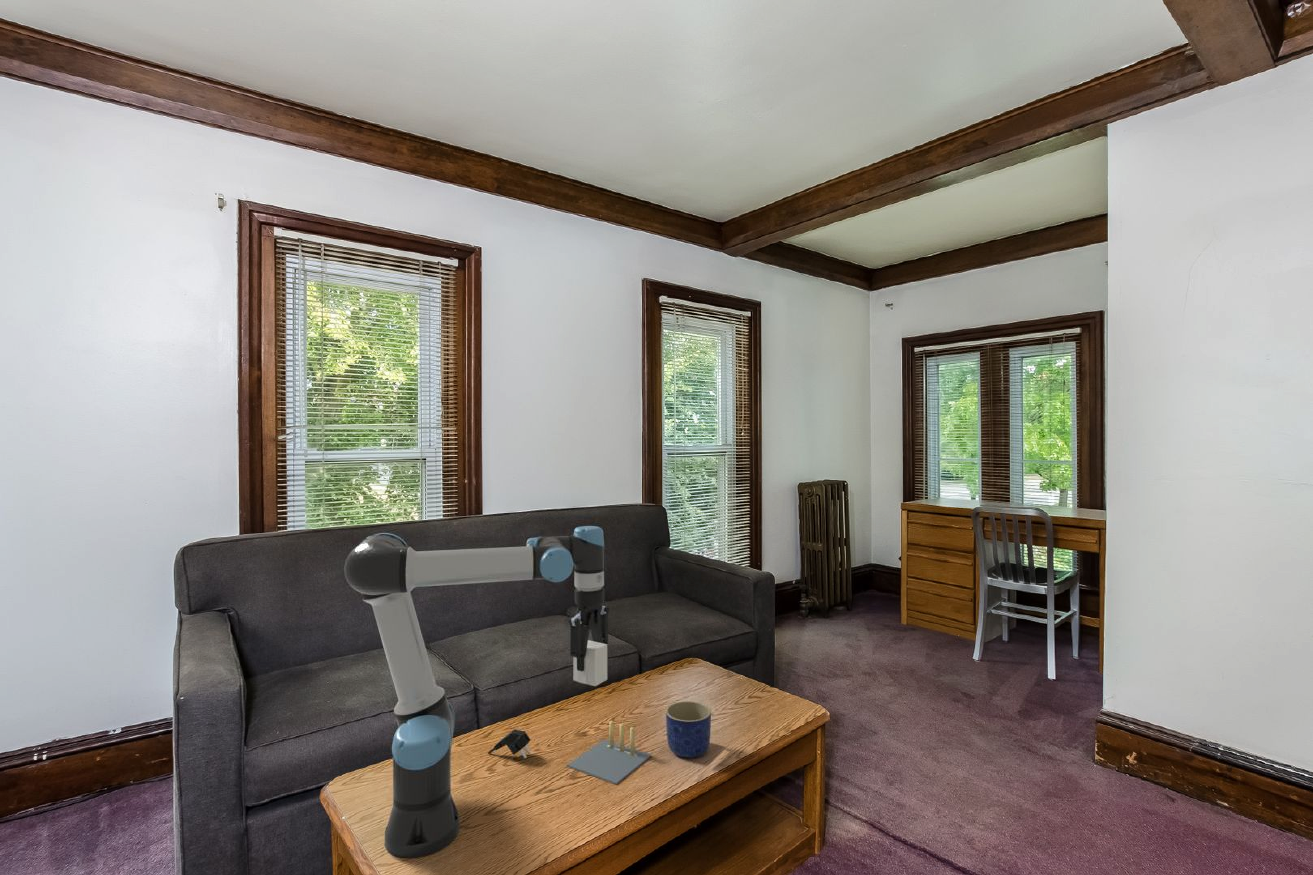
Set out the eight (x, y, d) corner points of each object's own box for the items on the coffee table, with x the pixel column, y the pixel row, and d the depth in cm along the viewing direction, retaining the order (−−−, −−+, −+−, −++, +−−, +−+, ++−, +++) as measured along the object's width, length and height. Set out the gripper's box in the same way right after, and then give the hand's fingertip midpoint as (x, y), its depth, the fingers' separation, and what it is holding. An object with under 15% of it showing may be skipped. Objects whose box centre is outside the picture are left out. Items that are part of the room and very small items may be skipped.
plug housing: (595, 686, 152) (594, 650, 152) (573, 680, 156) (573, 644, 156) (607, 679, 156) (607, 644, 156) (586, 673, 160) (585, 639, 160)
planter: (720, 749, 168) (720, 709, 168) (691, 767, 159) (691, 725, 159) (686, 734, 177) (685, 697, 177) (656, 751, 168) (656, 711, 168)
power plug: (491, 745, 170) (523, 721, 168) (507, 768, 169) (539, 744, 167) (482, 755, 164) (514, 731, 162) (498, 779, 163) (531, 755, 161)
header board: (616, 784, 152) (615, 754, 152) (567, 766, 160) (566, 738, 160) (651, 755, 165) (651, 728, 165) (604, 740, 174) (604, 714, 174)
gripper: (578, 597, 146) (578, 694, 146) (622, 582, 161) (622, 670, 161) (554, 593, 150) (555, 687, 150) (599, 578, 166) (600, 664, 166)
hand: (590, 678), depth 156 cm, fingers closed on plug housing, 5 cm apart
